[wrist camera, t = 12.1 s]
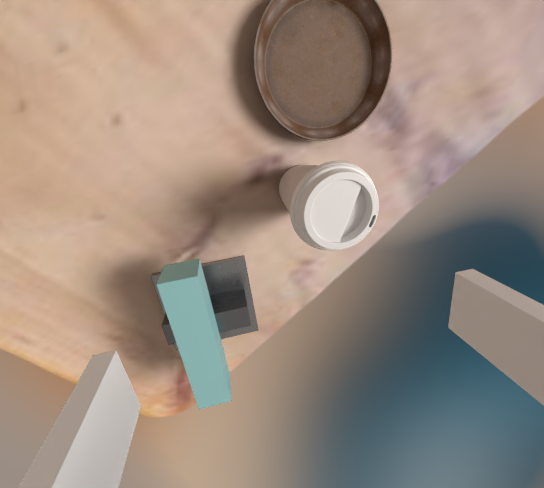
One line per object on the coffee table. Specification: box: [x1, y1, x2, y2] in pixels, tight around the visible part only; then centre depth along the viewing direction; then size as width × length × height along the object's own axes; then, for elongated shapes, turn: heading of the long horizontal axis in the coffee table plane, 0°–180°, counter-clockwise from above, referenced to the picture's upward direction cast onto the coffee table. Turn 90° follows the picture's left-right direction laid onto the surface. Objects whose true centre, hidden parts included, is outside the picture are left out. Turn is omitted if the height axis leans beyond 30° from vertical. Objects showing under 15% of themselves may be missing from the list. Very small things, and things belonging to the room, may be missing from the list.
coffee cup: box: [279, 161, 379, 250], centre depth 34 cm, size 10×10×15 cm
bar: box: [157, 259, 231, 409], centre depth 37 cm, size 4×20×5 cm, turn 8°
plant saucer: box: [254, 0, 392, 141], centre depth 35 cm, size 18×18×3 cm
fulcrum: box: [151, 256, 258, 350], centre depth 43 cm, size 14×14×6 cm
